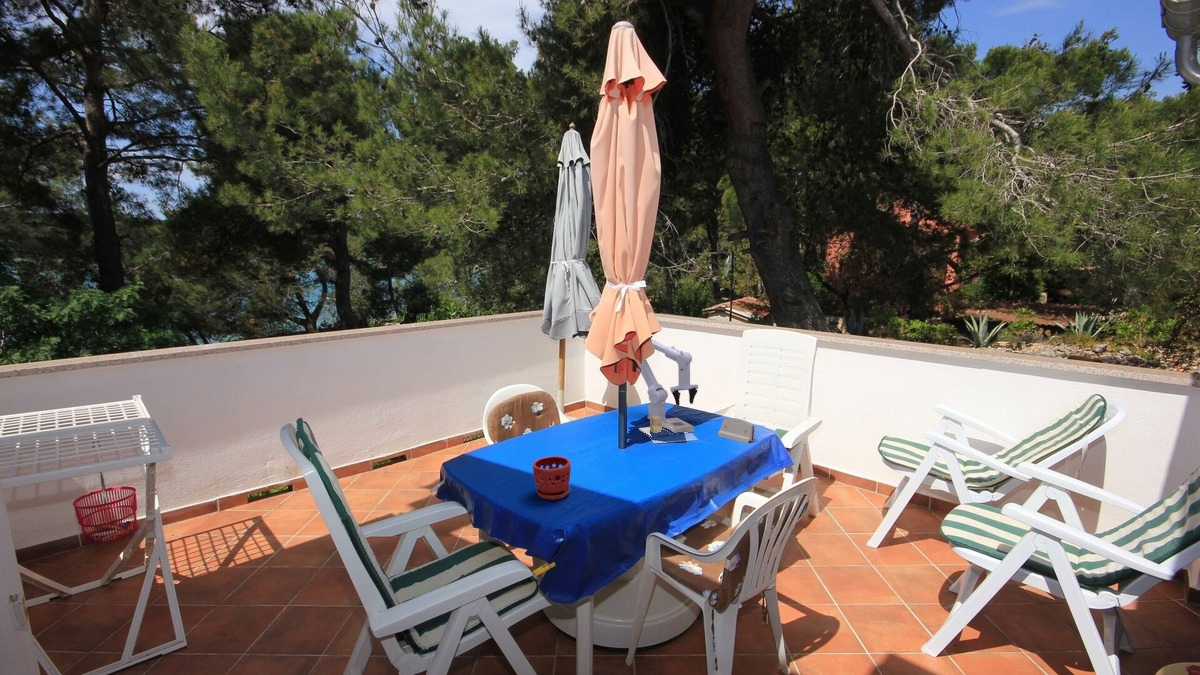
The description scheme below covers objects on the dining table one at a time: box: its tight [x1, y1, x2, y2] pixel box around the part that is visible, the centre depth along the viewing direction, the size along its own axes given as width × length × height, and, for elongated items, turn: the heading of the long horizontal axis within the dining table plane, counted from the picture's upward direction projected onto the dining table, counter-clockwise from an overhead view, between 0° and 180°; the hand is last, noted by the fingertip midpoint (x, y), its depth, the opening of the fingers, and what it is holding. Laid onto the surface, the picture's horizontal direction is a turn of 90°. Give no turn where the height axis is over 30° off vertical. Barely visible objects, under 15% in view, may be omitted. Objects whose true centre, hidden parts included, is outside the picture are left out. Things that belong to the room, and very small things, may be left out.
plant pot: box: [532, 455, 572, 501], centre depth 193 cm, size 13×13×12 cm
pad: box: [638, 426, 652, 438], centre depth 263 cm, size 14×10×1 cm
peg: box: [649, 416, 663, 433], centre depth 261 cm, size 4×4×7 cm
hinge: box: [717, 417, 756, 444], centre depth 253 cm, size 17×5×10 cm, turn 44°
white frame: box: [662, 417, 694, 433], centre depth 268 cm, size 16×10×3 cm, turn 21°
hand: (684, 404), depth 273 cm, fingers open, 7 cm apart
